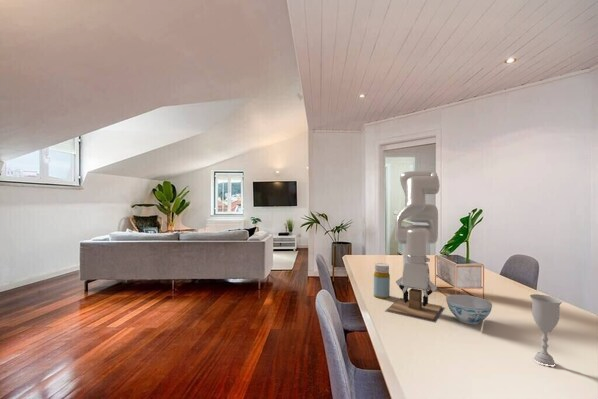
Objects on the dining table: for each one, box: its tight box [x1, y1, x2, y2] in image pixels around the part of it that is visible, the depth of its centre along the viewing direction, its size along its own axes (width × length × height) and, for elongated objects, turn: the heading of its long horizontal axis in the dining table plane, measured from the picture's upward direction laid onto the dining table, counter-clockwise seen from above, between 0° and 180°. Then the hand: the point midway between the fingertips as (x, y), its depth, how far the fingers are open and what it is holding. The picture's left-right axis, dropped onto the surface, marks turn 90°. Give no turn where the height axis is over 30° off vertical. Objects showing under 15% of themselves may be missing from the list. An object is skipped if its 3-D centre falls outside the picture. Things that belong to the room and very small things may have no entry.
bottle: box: [373, 262, 391, 300], centre depth 142 cm, size 7×7×15 cm
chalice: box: [529, 294, 563, 365], centre depth 87 cm, size 7×7×18 cm
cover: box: [387, 288, 443, 322], centre depth 126 cm, size 17×17×8 cm
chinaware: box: [445, 294, 493, 325], centre depth 115 cm, size 15×15×8 cm
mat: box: [384, 298, 446, 323], centre depth 126 cm, size 19×19×1 cm
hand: (415, 303), depth 126 cm, fingers open, 6 cm apart
